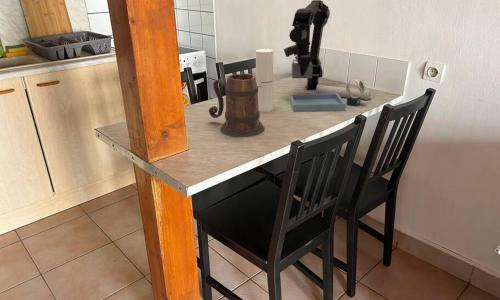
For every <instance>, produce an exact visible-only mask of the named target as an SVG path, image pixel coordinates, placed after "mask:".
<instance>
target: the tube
mask: <svg viewBox="0 0 500 300" xmlns="http://www.w3.org/2000/svg"><path fill="white" fill-rule="evenodd" d="M349 89H350V92H351V95H353V96H360V95H361V92H360V91H359V89H358V88H355V87H349ZM371 93H372V92H371V90H369V89H366V88H365V91H364V93H363V94H362V95H361V96H360V97H361V100H363V101H368V100H370V99H371V95H372V94H371ZM315 94H338V95H339V96H340V97H341V98H342V97H343V98H342V99H347V98H349V97H350V96H349V95H348V94H347V91H346V86H345V87H344V86H334V85H323V84H319V83H318V85H317V88H316V89H315Z"/></svg>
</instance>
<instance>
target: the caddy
mask: <svg viewBox="0 0 500 300" xmlns="http://www.w3.org/2000/svg"><path fill="white" fill-rule="evenodd" d="M312 70H313V65H312V62H310V64H309V66H308V68H307V70H306V72H305V74H304V76H301V70H300V64H299V63H298V62H297V60H296V59H293V60H292V62H291V72H290V73H291V74H290V76H291V79H307V78H312Z"/></svg>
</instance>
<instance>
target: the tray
mask: <svg viewBox="0 0 500 300" xmlns="http://www.w3.org/2000/svg"><path fill="white" fill-rule="evenodd" d="M288 99H289V100H288V101H289V103H290V106H291V108H292V110H291V111H292V112H293V113H297V112H299V113H300V112H301V113H302V112H307V113H308V112H346V106H347V103H346V102H345V101H344V100H343V98H342V97H340V96H339V95H338V94H316V93H297V94H296V93H293V94H292V93H291V94H290V93H289V98H288Z"/></svg>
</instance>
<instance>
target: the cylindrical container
mask: <svg viewBox="0 0 500 300" xmlns="http://www.w3.org/2000/svg"><path fill="white" fill-rule="evenodd" d="M255 78H256V83H257V86H258V110H259V113H260V112H261V113H266V112H267V113H269V112H271V111H273V109H274V49H271V48H269V49H268V48H261V49H256V50H255Z"/></svg>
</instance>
